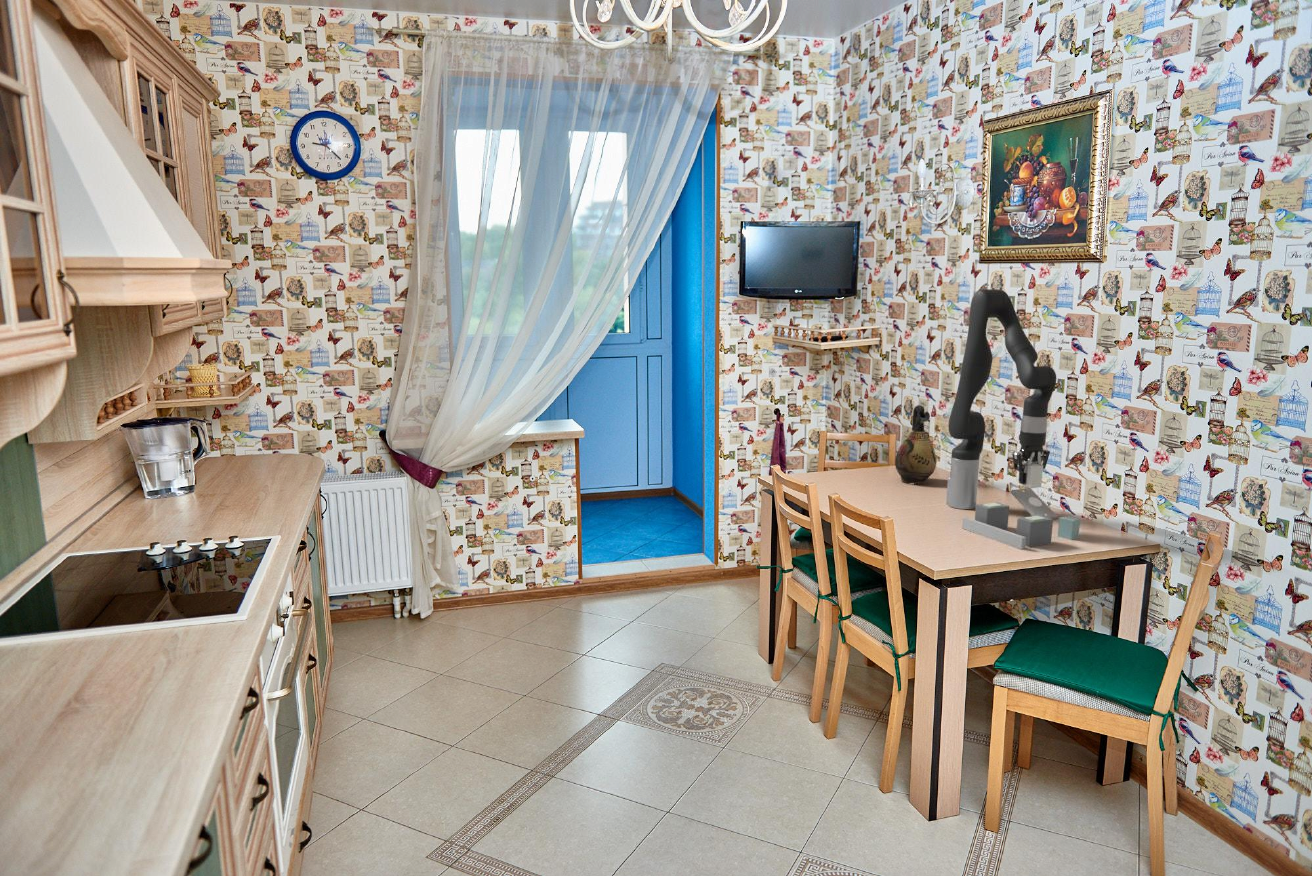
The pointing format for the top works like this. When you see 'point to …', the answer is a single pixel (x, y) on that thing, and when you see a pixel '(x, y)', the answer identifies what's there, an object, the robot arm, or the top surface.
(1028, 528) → the rail mount
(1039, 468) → the module
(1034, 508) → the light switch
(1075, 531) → the block
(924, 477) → the ceramic jug
